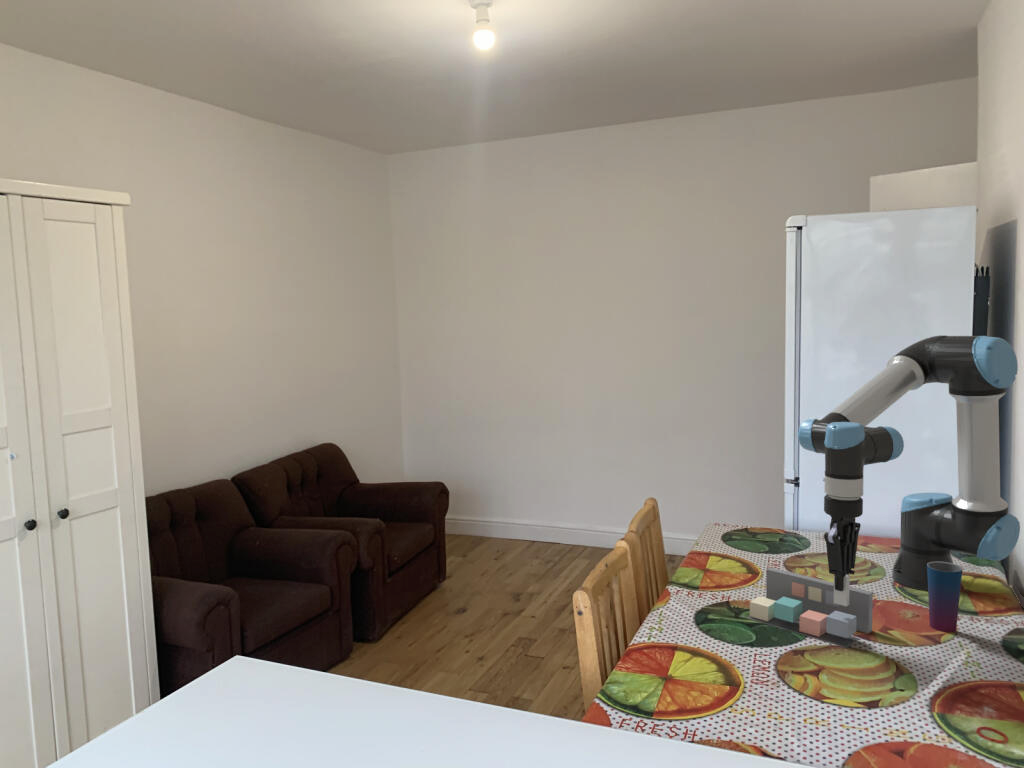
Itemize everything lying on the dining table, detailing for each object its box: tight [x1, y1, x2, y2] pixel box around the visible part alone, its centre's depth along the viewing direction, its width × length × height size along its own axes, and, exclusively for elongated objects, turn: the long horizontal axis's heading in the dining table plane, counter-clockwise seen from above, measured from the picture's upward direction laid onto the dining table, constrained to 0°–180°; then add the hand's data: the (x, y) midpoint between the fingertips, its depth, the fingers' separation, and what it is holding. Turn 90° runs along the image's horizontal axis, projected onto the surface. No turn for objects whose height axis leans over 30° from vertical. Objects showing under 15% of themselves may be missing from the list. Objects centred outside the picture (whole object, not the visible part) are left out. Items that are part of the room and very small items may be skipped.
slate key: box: [826, 611, 857, 638], centre depth 164 cm, size 4×4×4 cm
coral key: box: [799, 610, 828, 637], centre depth 168 cm, size 4×4×4 cm
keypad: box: [747, 567, 874, 649], centre depth 171 cm, size 16×24×10 cm, turn 44°
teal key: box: [774, 597, 802, 622], centre depth 172 cm, size 4×4×4 cm
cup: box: [927, 561, 963, 634], centre depth 168 cm, size 7×7×15 cm
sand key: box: [749, 595, 775, 622], centre depth 177 cm, size 4×4×4 cm
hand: (841, 603), depth 163 cm, fingers closed
